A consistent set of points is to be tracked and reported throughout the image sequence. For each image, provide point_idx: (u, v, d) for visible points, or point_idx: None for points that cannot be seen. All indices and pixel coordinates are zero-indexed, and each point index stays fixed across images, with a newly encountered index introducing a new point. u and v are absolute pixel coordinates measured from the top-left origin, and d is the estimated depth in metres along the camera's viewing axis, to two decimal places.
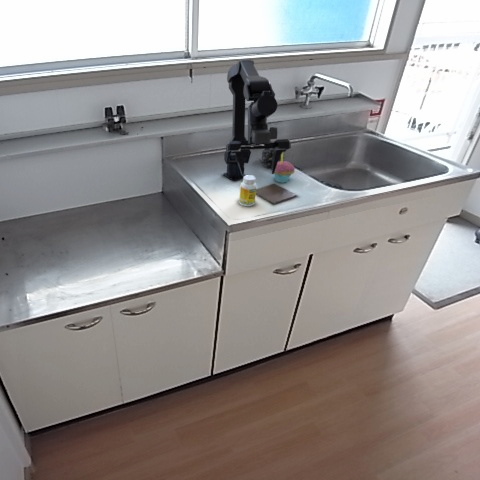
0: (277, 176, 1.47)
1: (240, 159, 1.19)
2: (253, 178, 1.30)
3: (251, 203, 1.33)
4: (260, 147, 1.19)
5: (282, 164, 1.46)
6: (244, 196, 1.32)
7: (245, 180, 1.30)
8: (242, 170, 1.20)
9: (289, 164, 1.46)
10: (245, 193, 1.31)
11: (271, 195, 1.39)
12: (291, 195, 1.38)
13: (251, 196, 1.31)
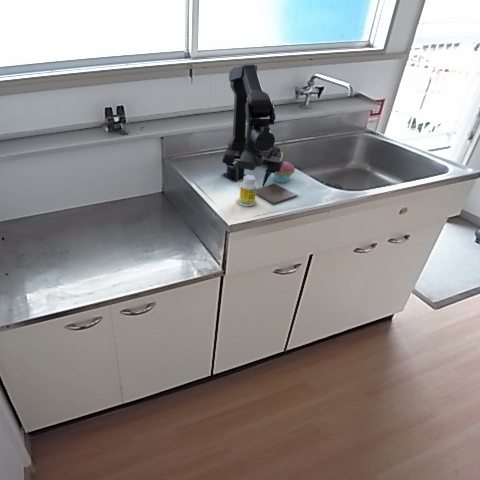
0: (277, 176, 1.47)
1: (234, 170, 1.30)
2: (253, 178, 1.30)
3: (251, 203, 1.33)
4: None
5: None
6: (244, 196, 1.32)
7: (245, 180, 1.30)
8: (235, 178, 1.33)
9: (289, 164, 1.46)
10: (245, 193, 1.31)
11: (271, 195, 1.39)
12: (291, 195, 1.38)
13: (251, 196, 1.31)
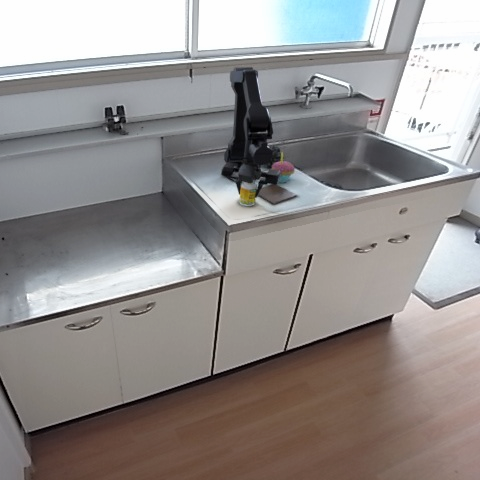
0: None
1: (237, 183, 1.32)
2: None
3: (251, 203, 1.33)
4: None
5: (282, 164, 1.46)
6: (244, 196, 1.32)
7: None
8: (239, 191, 1.34)
9: (289, 164, 1.46)
10: (245, 193, 1.31)
11: (271, 195, 1.39)
12: (291, 195, 1.38)
13: (251, 196, 1.31)
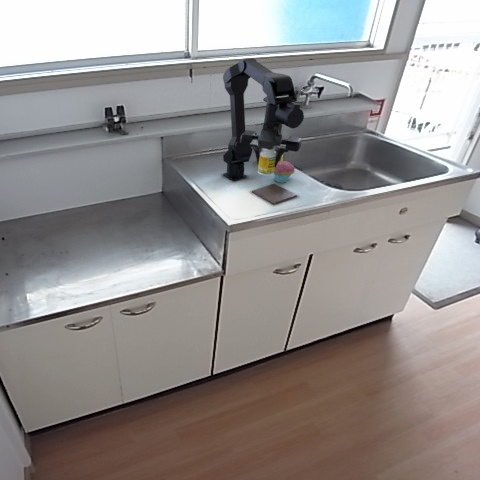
0: (277, 176, 1.47)
1: (256, 151, 1.29)
2: None
3: (270, 172, 1.30)
4: None
5: (282, 164, 1.46)
6: (263, 165, 1.29)
7: None
8: (258, 160, 1.31)
9: (289, 164, 1.46)
10: (265, 161, 1.28)
11: (271, 195, 1.39)
12: (291, 195, 1.38)
13: (270, 164, 1.28)
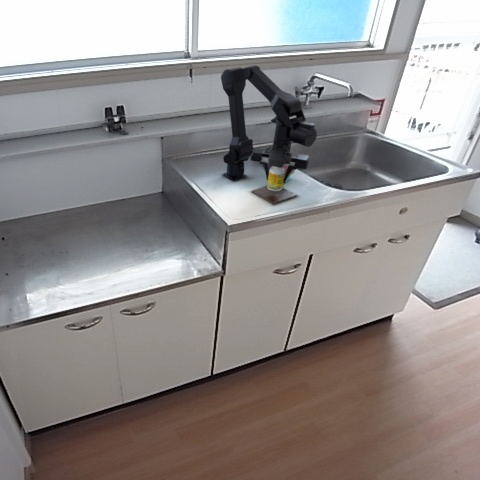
0: None
1: (266, 168, 1.35)
2: None
3: (279, 188, 1.36)
4: None
5: None
6: (273, 181, 1.35)
7: None
8: (267, 177, 1.37)
9: None
10: (274, 178, 1.34)
11: (271, 195, 1.39)
12: (291, 195, 1.38)
13: (280, 181, 1.34)
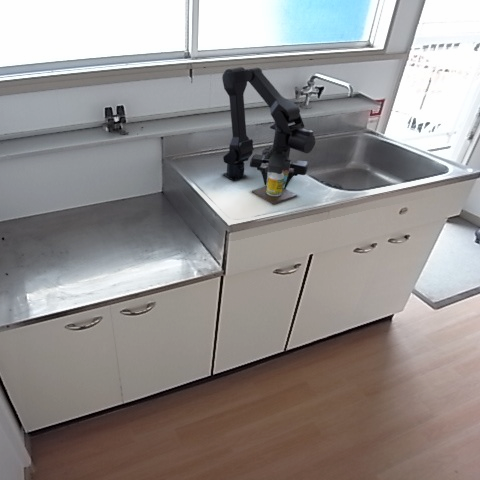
0: None
1: (264, 174, 1.37)
2: None
3: (278, 193, 1.37)
4: None
5: None
6: (272, 187, 1.36)
7: None
8: (265, 182, 1.39)
9: None
10: (273, 183, 1.35)
11: None
12: (291, 195, 1.38)
13: (279, 186, 1.36)
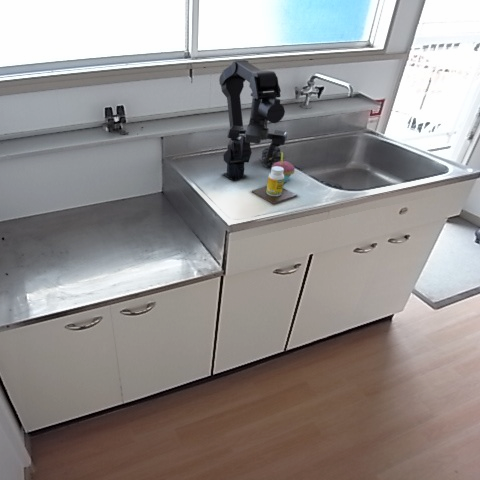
0: None
1: (238, 145, 1.33)
2: (281, 169, 1.34)
3: (278, 193, 1.37)
4: None
5: (282, 164, 1.46)
6: (272, 187, 1.36)
7: (273, 171, 1.34)
8: (240, 154, 1.35)
9: (289, 164, 1.46)
10: (273, 183, 1.35)
11: None
12: (291, 195, 1.38)
13: (279, 186, 1.36)
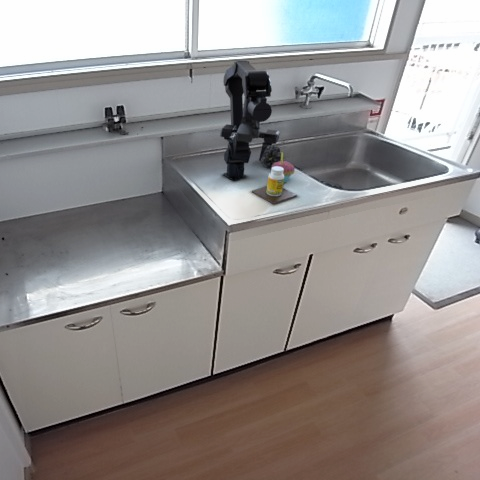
0: None
1: (231, 144, 1.34)
2: (281, 169, 1.34)
3: (278, 193, 1.37)
4: None
5: (282, 164, 1.46)
6: (272, 187, 1.36)
7: (273, 171, 1.34)
8: (233, 153, 1.36)
9: (289, 164, 1.46)
10: (273, 183, 1.35)
11: None
12: (291, 195, 1.38)
13: (279, 186, 1.36)
